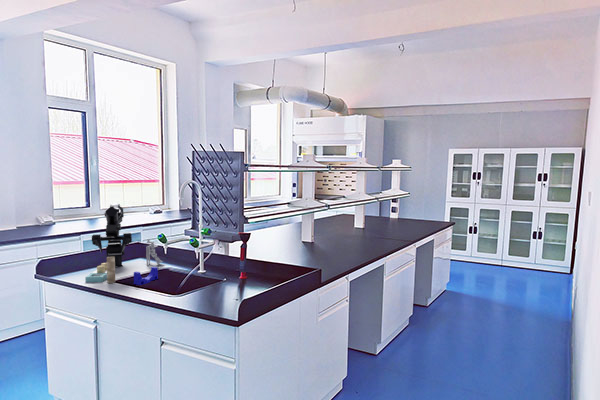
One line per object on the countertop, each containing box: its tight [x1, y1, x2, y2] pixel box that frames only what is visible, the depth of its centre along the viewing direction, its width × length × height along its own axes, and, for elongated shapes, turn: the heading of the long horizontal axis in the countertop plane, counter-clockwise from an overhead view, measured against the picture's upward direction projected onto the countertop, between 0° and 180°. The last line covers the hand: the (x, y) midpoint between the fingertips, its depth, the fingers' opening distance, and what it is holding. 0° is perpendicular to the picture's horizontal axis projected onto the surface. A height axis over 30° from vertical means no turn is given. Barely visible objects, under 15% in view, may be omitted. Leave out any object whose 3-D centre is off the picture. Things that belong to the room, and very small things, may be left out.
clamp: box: [145, 238, 164, 267], centre depth 229 cm, size 4×10×15 cm, turn 89°
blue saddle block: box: [133, 266, 159, 286], centre depth 198 cm, size 12×4×6 cm, turn 150°
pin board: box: [84, 262, 107, 283], centre depth 204 cm, size 17×8×6 cm, turn 6°
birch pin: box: [106, 256, 116, 284], centre depth 196 cm, size 4×4×12 cm
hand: (111, 252), depth 202 cm, fingers open, 9 cm apart
